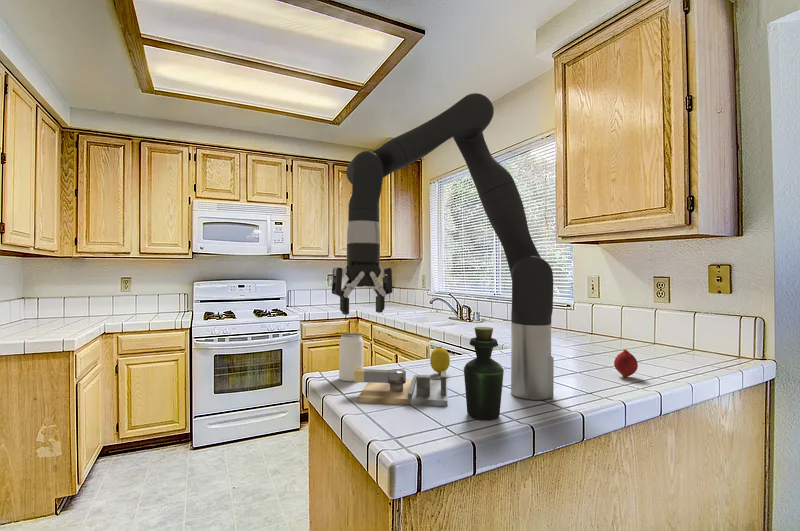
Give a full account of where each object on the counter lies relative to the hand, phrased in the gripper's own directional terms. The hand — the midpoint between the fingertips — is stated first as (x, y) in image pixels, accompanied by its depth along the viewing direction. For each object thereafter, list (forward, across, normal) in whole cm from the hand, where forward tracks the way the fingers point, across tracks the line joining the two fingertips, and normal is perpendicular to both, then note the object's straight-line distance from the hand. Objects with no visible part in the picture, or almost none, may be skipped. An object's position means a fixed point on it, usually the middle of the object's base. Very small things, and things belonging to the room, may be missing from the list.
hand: (362, 313), depth 94 cm
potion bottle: (+20, -18, +21) cm, 34 cm away
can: (+20, -6, -18) cm, 28 cm away
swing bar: (+17, -6, -2) cm, 18 cm away
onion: (+20, -73, +19) cm, 78 cm away
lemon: (+20, -30, -10) cm, 37 cm away
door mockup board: (+20, -12, 0) cm, 23 cm away
